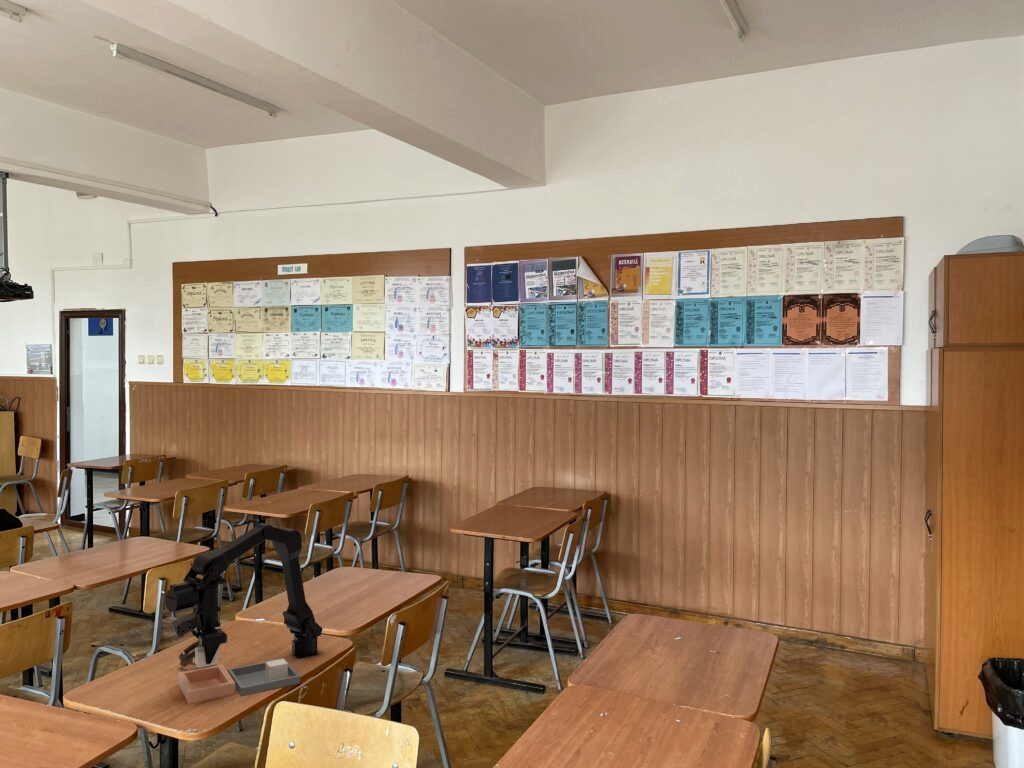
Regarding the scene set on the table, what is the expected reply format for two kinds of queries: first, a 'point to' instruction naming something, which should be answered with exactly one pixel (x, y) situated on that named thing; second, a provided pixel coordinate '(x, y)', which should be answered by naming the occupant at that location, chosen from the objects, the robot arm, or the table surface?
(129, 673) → the table surface
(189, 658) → the brown curved piece
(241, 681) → the parts tray
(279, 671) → the off-white rectangular prism
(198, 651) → the cream rectangular block
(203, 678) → the terracotta dish
